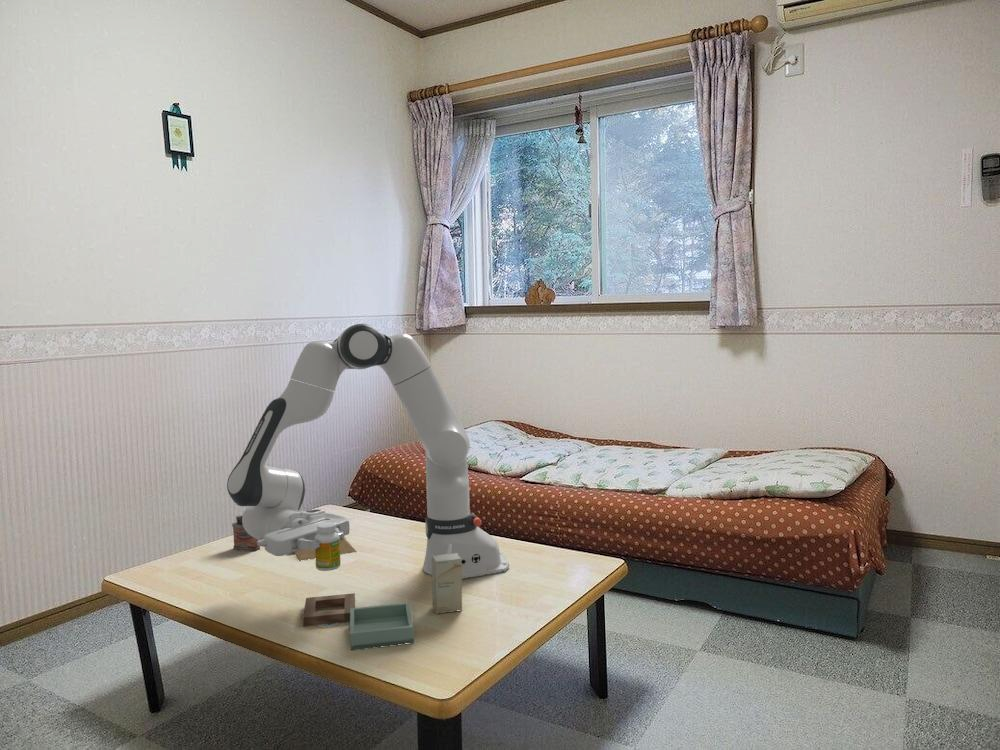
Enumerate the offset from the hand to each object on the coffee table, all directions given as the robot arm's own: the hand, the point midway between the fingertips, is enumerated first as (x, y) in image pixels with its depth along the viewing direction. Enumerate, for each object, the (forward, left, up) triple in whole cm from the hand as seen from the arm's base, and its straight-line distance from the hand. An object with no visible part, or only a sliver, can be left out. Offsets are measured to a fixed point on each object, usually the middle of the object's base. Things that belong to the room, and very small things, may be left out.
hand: (329, 541), depth 160 cm
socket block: (+1, -1, -17) cm, 17 cm away
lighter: (+26, -53, -17) cm, 61 cm away
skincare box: (-25, +3, -17) cm, 31 cm away
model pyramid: (+5, -48, -17) cm, 51 cm away
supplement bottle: (+1, -1, -6) cm, 6 cm away
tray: (-10, +12, -17) cm, 23 cm away
